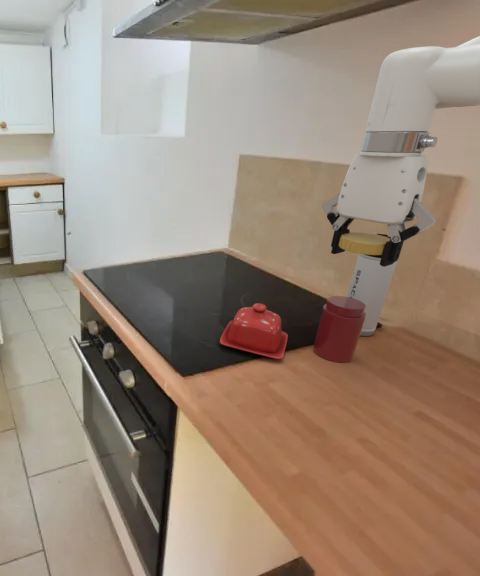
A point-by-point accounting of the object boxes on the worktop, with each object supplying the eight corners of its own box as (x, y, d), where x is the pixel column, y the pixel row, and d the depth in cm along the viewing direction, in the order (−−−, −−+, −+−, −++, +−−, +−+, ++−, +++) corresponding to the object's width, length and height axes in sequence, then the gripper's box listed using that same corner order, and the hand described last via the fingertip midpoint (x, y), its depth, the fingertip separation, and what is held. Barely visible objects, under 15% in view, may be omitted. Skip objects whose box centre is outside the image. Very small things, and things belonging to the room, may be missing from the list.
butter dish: (281, 366, 68) (291, 323, 65) (216, 349, 73) (222, 309, 70) (287, 338, 77) (296, 299, 74) (229, 324, 82) (235, 288, 79)
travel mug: (373, 326, 82) (401, 235, 74) (374, 339, 76) (405, 243, 69) (339, 319, 85) (363, 231, 77) (338, 331, 79) (364, 238, 72)
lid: (375, 258, 58) (378, 246, 58) (329, 246, 64) (331, 236, 63) (399, 250, 62) (402, 239, 61) (353, 240, 67) (355, 230, 67)
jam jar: (325, 340, 76) (338, 292, 72) (360, 356, 71) (376, 305, 67) (305, 349, 73) (317, 299, 69) (340, 366, 68) (356, 313, 64)
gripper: (477, 145, 51) (434, 269, 58) (345, 143, 65) (323, 243, 72) (454, 147, 48) (410, 278, 55) (320, 144, 62) (298, 249, 69)
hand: (361, 257), depth 63 cm, fingers closed on lid, 7 cm apart
